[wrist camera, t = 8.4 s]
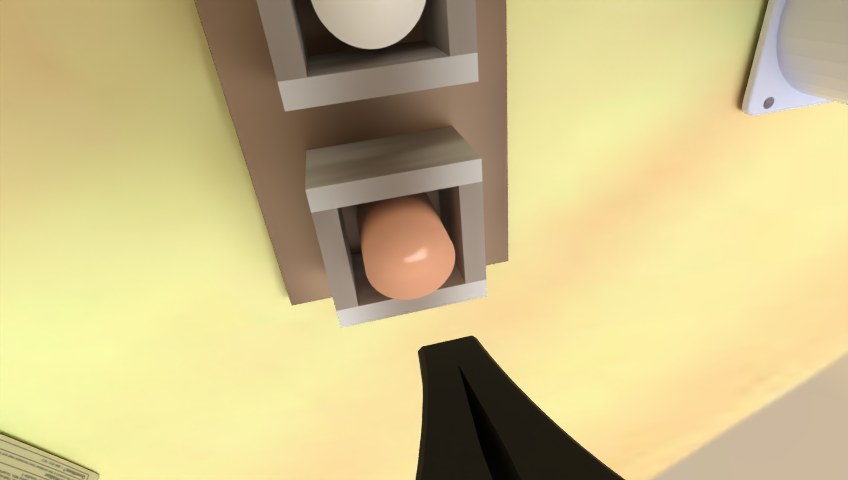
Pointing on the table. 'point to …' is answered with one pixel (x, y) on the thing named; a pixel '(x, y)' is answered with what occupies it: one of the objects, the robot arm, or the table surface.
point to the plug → (369, 20)
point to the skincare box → (36, 464)
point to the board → (368, 139)
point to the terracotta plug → (404, 246)
